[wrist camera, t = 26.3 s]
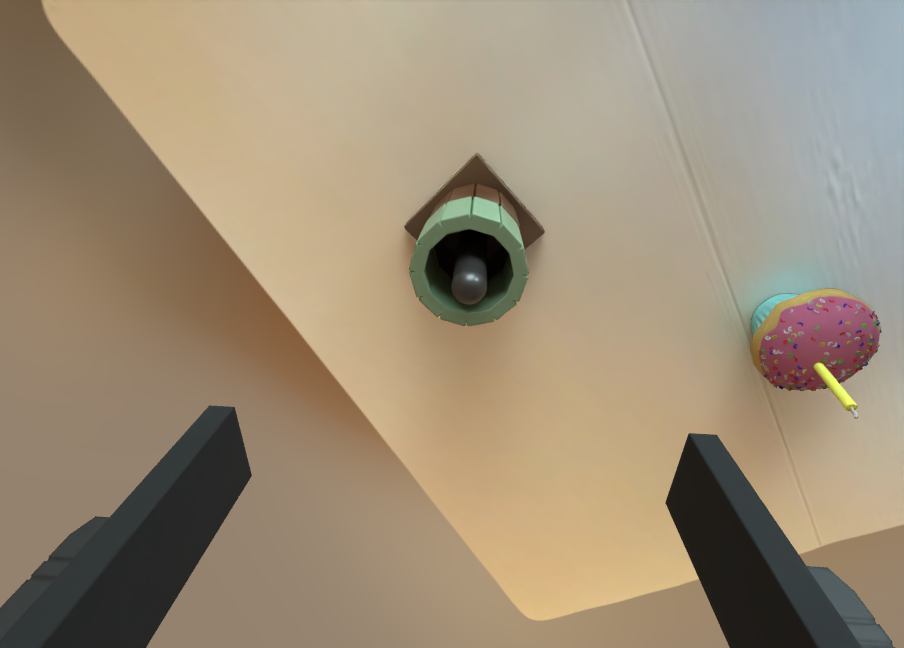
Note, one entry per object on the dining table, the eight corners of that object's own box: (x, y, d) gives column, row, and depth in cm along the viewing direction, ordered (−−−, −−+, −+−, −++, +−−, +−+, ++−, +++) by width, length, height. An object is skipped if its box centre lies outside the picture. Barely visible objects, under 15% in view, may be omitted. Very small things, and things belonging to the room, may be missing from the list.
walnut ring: (536, 232, 35) (543, 251, 31) (471, 287, 38) (469, 312, 33) (476, 164, 33) (475, 174, 29) (412, 227, 36) (401, 245, 31)
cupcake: (760, 374, 42) (854, 470, 31) (707, 317, 39) (789, 399, 29) (853, 315, 38) (995, 400, 28) (801, 249, 36) (934, 313, 25)
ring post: (543, 227, 37) (574, 298, 24) (471, 288, 40) (465, 380, 27) (477, 152, 34) (472, 185, 22) (406, 222, 37) (365, 289, 24)
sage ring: (542, 251, 31) (551, 277, 27) (468, 312, 33) (465, 345, 29) (473, 174, 29) (471, 188, 25) (400, 245, 31) (386, 270, 27)
